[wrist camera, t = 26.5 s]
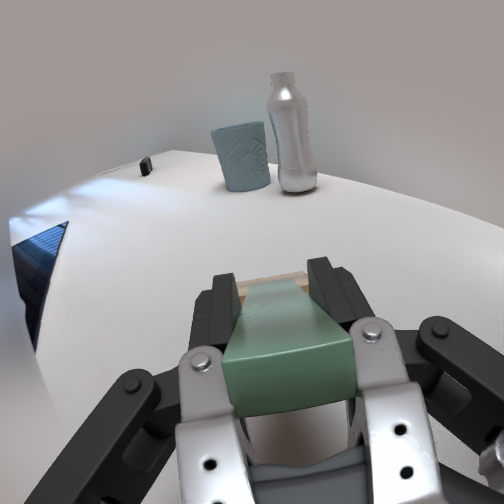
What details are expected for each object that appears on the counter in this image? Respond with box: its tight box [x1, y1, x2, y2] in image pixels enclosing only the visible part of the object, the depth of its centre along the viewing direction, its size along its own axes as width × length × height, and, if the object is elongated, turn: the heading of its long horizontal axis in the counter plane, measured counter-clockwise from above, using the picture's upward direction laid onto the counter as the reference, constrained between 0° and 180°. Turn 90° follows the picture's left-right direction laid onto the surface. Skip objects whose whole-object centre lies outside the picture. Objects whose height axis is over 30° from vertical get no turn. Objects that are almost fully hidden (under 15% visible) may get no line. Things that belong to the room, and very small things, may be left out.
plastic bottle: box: [267, 72, 317, 192], centre depth 44 cm, size 6×7×20 cm
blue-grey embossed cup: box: [211, 121, 270, 192], centre depth 54 cm, size 10×10×12 cm
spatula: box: [221, 271, 357, 418], centre depth 16 cm, size 20×6×2 cm, turn 2°
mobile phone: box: [140, 157, 152, 176], centre depth 96 cm, size 5×3×15 cm
